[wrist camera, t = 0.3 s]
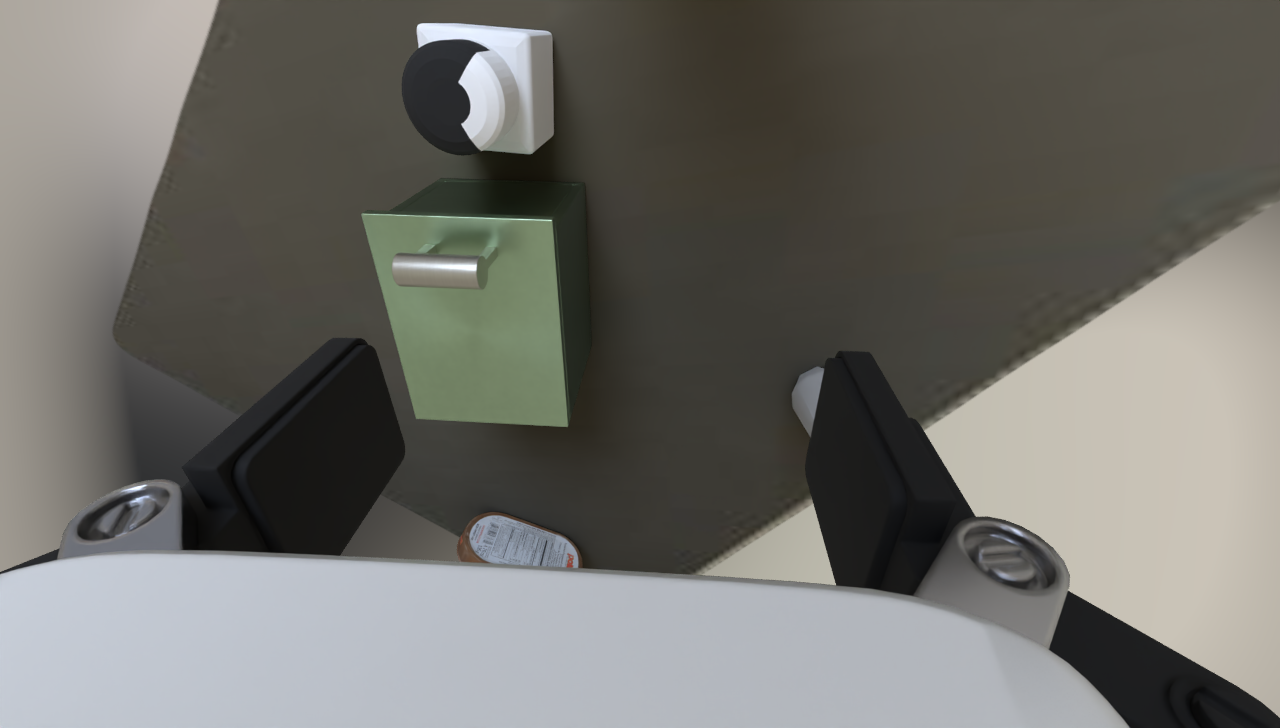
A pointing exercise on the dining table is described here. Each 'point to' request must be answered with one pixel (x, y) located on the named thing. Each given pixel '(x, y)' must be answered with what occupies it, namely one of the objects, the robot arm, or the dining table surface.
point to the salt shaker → (807, 396)
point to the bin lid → (474, 313)
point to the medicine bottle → (481, 88)
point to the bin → (570, 236)
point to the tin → (515, 543)
